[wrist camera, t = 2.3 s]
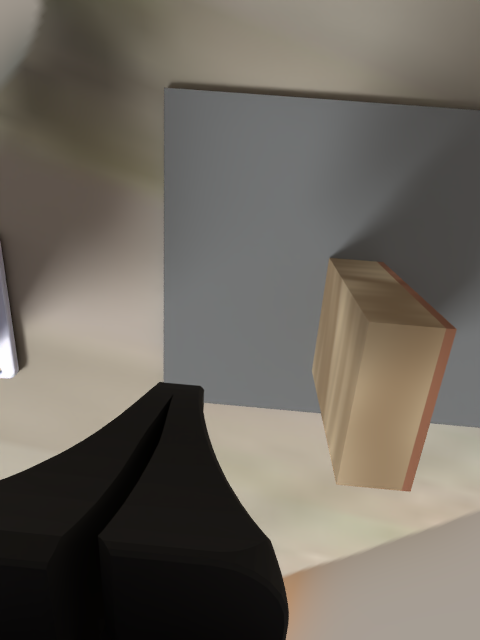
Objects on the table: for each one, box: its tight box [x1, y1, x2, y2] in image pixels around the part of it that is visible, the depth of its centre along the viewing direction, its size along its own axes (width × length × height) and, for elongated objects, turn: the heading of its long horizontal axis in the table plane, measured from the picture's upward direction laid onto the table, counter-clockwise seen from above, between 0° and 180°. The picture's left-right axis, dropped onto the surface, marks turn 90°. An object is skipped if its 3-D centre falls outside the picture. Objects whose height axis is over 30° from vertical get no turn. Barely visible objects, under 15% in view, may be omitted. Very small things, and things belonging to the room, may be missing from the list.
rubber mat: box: [164, 88, 480, 428], centre depth 20 cm, size 20×15×1 cm
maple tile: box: [312, 258, 457, 491], centre depth 17 cm, size 2×6×8 cm, turn 176°
